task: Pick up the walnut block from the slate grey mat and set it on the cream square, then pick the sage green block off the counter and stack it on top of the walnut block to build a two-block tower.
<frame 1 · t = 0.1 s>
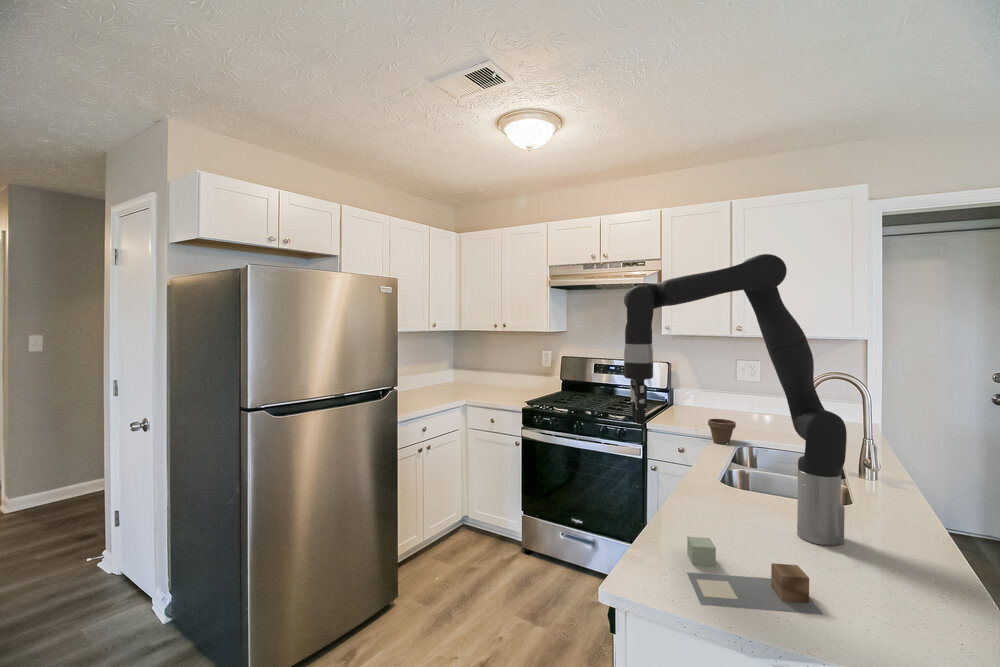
hand: (638, 420, 129), 29 cm above the counter, tool pointing down, fingers open, 8 cm apart
sage block: (701, 563, 110), on the counter
flower pot: (721, 443, 217), on the counter
walnut block: (789, 594, 96), point 1 cm above the counter, touching build mat
build mat: (749, 594, 98), on the counter
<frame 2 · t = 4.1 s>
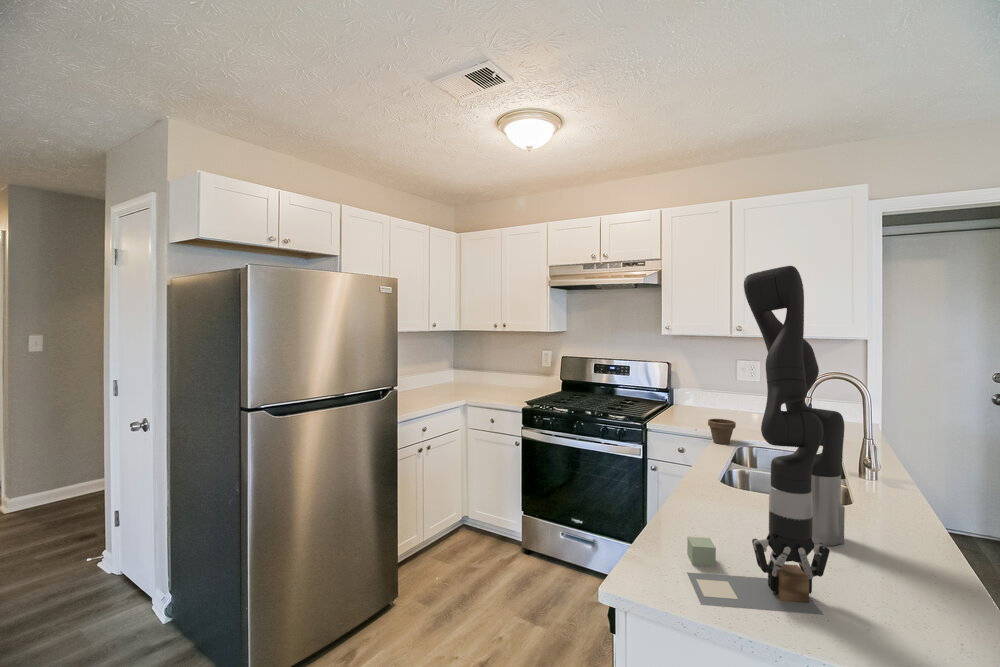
hand: (789, 592, 96), 1 cm above the counter, tool pointing down, fingers closed on walnut block, 5 cm apart
walnut block: (789, 594, 96), point 1 cm above the counter, touching build mat, gripper
everything else where it was.
when the fingers open (2 cm above the counter, at t = 9.1 s): walnut block drops 1 cm, resting on build mat.
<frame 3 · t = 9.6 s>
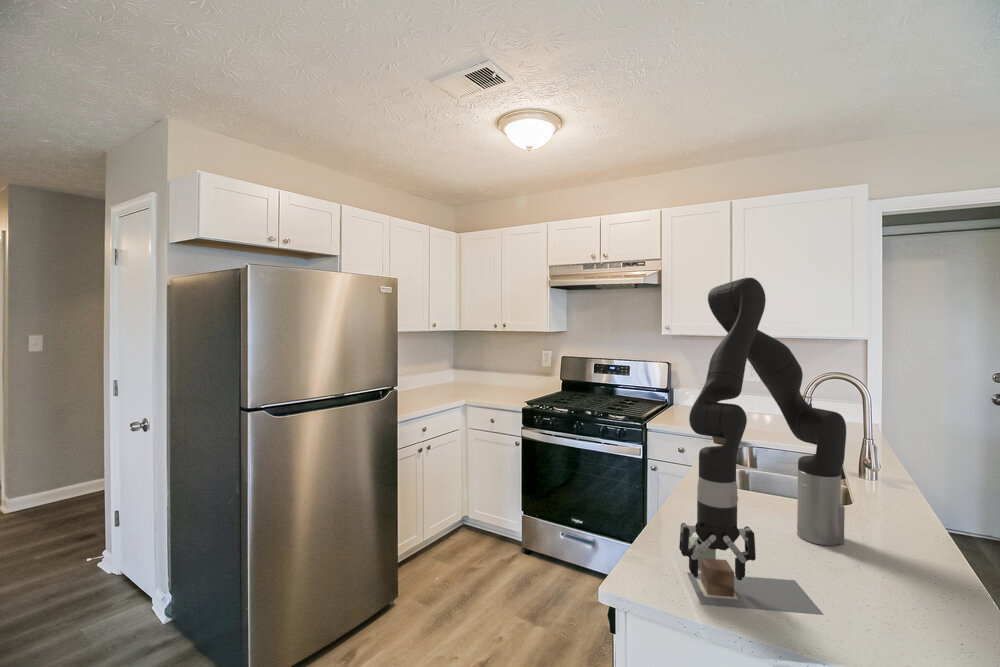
hand: (716, 576, 98), 3 cm above the counter, tool pointing down, fingers open, 8 cm apart
walnut block: (717, 588, 98), point 1 cm above the counter, touching build mat
everything else where it was.
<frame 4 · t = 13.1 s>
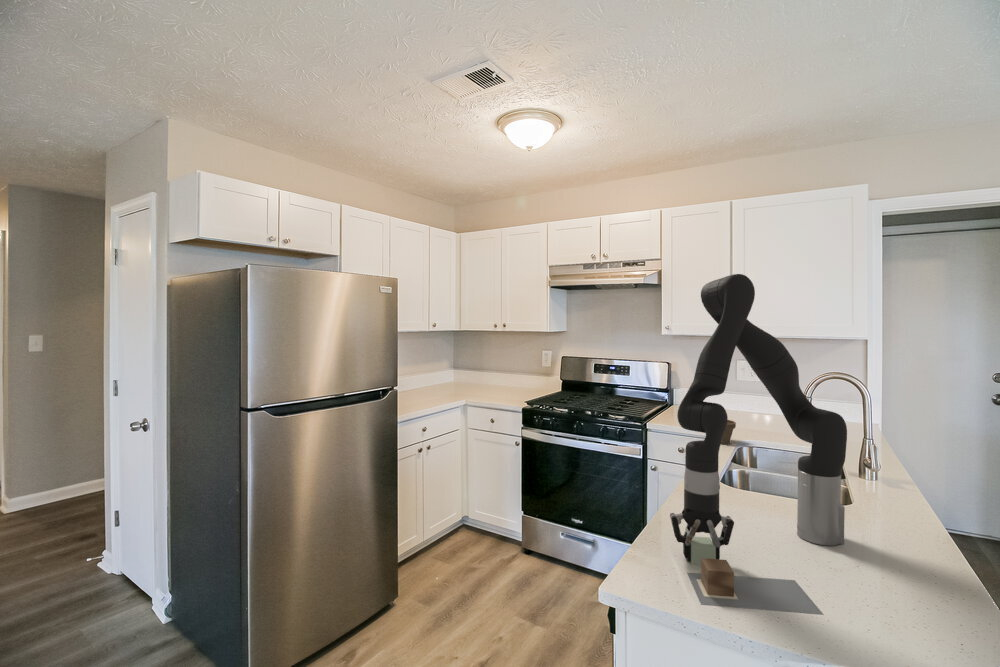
hand: (701, 559, 110), 1 cm above the counter, tool pointing down, fingers closed on sage block, 5 cm apart
sage block: (701, 563, 110), on the counter, touching gripper
everything else where it was.
when the fingers open (7 cm above the counter, at t = 18.5 s): sage block stays where it is, resting on walnut block.
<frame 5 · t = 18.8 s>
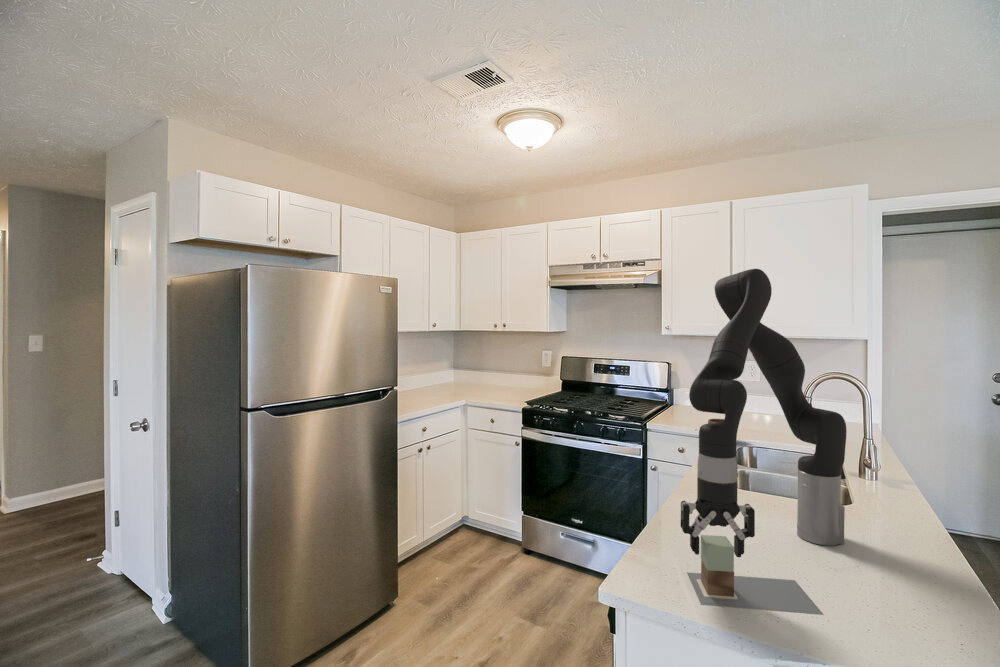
hand: (716, 554, 98), 8 cm above the counter, tool pointing down, fingers open, 7 cm apart
sage block: (716, 564, 98), point 6 cm above the counter, touching walnut block
walnut block: (717, 588, 98), point 1 cm above the counter, touching build mat, sage block
everything else where it was.
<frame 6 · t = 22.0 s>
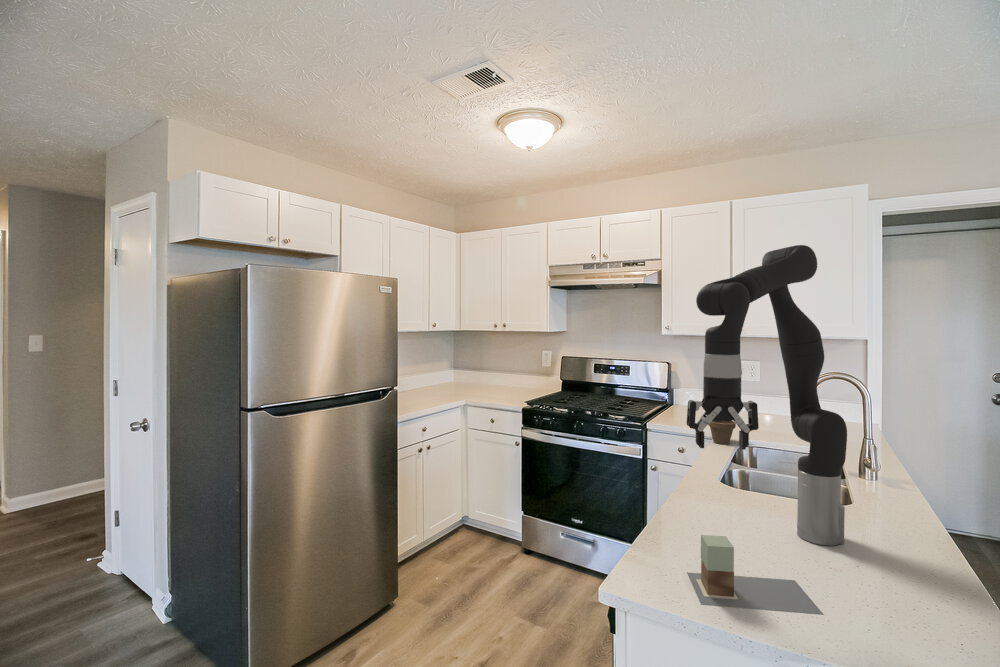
hand: (721, 448, 105), 28 cm above the counter, tool pointing down, fingers open, 8 cm apart
nothing on the counter moved.
at the end: walnut block 0.1 cm from the target spot on the build mat, point 0.7 cm above the build mat's base; sage block 0.1 cm off-centre on the walnut block, point 5.0 cm above the walnut block's base; sage block tilted 0° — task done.
